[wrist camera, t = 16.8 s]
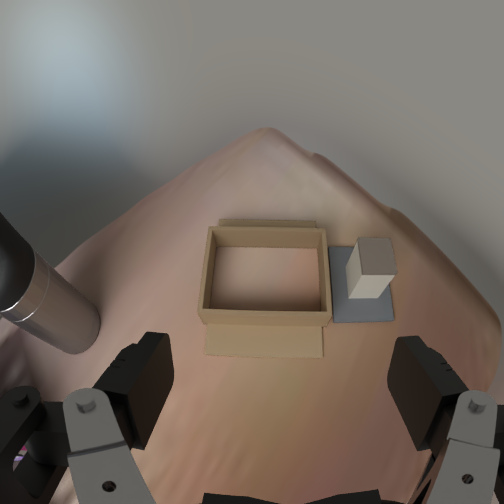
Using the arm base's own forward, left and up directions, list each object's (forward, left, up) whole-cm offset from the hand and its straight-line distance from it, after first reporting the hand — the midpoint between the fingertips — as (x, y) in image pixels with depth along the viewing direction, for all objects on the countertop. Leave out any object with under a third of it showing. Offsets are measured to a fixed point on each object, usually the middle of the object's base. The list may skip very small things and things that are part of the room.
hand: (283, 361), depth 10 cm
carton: (-1, +18, -31) cm, 35 cm away
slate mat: (+13, +18, -31) cm, 38 cm away
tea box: (+13, +18, -30) cm, 37 cm away
